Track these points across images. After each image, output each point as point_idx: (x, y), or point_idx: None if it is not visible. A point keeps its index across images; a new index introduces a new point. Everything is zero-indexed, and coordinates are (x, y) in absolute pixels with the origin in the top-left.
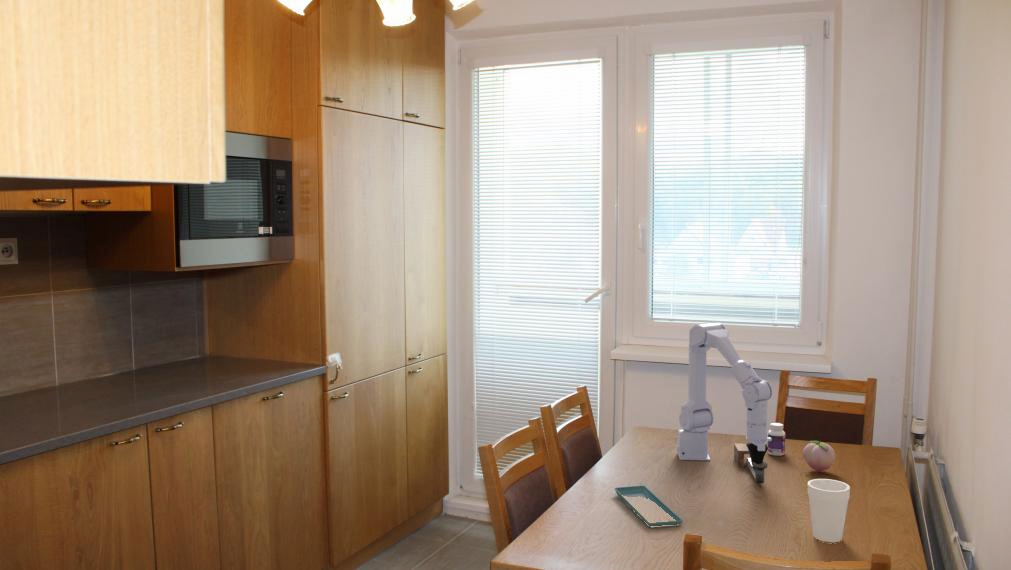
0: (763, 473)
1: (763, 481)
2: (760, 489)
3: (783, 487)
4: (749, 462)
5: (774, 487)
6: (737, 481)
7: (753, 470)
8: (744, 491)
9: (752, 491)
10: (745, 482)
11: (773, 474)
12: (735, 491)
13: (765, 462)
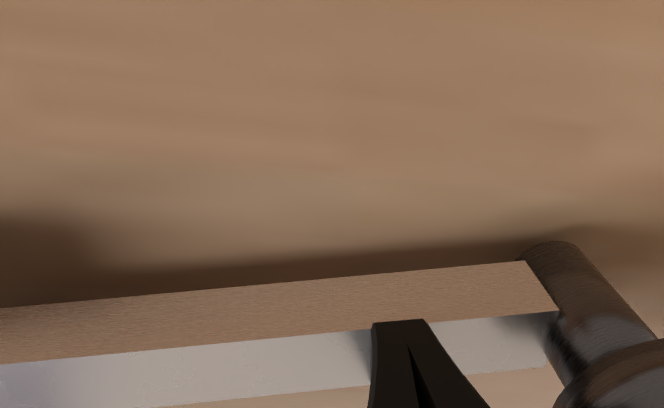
0: (638, 316)
1: (586, 257)
2: (624, 252)
3: (605, 44)
4: (157, 400)
5: (591, 136)
6: None
7: None
8: None
9: (658, 305)
10: None
11: (136, 96)
12: None
13: (649, 395)
